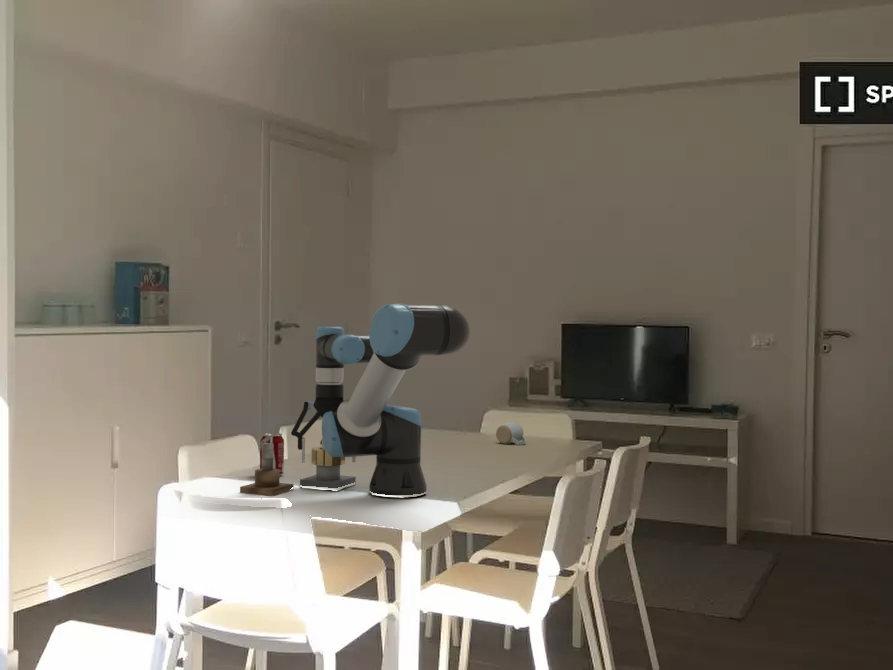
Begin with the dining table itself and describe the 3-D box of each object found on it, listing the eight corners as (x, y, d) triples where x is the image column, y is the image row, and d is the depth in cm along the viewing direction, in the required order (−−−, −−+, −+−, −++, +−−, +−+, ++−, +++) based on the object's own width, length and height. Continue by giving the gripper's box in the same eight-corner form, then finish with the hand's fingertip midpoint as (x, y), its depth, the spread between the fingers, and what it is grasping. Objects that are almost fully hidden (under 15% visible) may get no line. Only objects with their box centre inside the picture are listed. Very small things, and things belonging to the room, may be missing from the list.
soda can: (285, 473, 285) (285, 432, 284) (281, 477, 278) (282, 435, 278) (261, 473, 284) (262, 432, 284) (258, 477, 278) (258, 435, 277)
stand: (293, 489, 260) (294, 442, 260) (272, 495, 251) (273, 447, 250) (261, 486, 264) (262, 440, 263) (240, 492, 254) (240, 444, 254)
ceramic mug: (494, 443, 360) (494, 422, 359) (506, 441, 366) (507, 420, 366) (518, 446, 353) (519, 425, 353) (530, 444, 360) (531, 423, 360)
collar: (344, 460, 270) (344, 446, 270) (345, 465, 261) (345, 451, 261) (311, 460, 269) (311, 446, 269) (311, 465, 260) (311, 451, 260)
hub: (355, 485, 268) (356, 436, 268) (335, 491, 258) (336, 441, 257) (320, 482, 272) (321, 434, 272) (299, 488, 262) (300, 438, 262)
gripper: (374, 382, 270) (373, 459, 270) (283, 382, 266) (282, 459, 267) (376, 384, 262) (375, 463, 262) (282, 384, 259) (281, 463, 259)
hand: (328, 461), depth 265 cm, fingers open, 13 cm apart
